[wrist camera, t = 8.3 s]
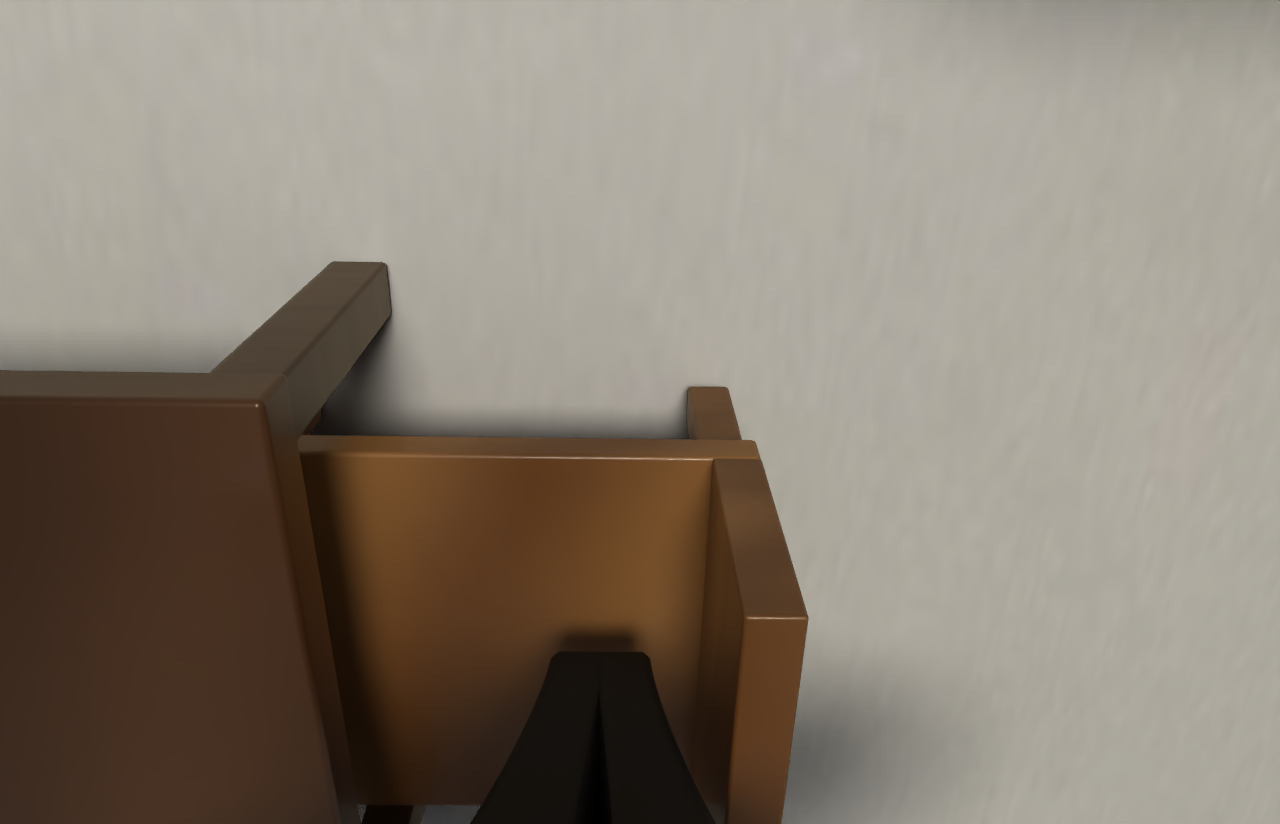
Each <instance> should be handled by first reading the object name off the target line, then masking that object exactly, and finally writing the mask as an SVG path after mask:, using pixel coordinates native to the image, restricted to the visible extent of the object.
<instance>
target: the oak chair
mask: <svg viewBox="0 0 1280 824" xmlns="http://www.w3.org/2000/svg"><path fill="white" fill-rule="evenodd" d="M320 419H321V410H320V411H319V412H318V413H317V415H316V416H315V418H314V419H313V420H312V422H311V423H310V424H309V426H308V427H307V428H306V430H305V431H304V433H303V434H302V435H301V437H300V438H299V439H298V441H297V442H298V448H299V454H300V460H301V466H302V472H303V478H304V484H305V490H306V496H307V502H308V508H309V514H310V520H311V526H312V532H313V538H314V544H315V550H316V556H317V562H318V568H319V574H320V580H321V586H322V592H323V598H324V604H325V610H326V616H327V622H328V628H329V634H330V640H331V646H332V652H333V658H334V664H335V670H336V676H337V682H338V688H339V694H340V700H341V706H342V712H343V718H344V724H345V730H346V736H347V742H348V748H349V754H350V760H351V766H352V772H353V778H354V784H355V790H356V796H357V802H358V805H482V803H483V802H484V800H485V798H486V797H487V795H488V793H489V792H490V790H491V788H492V786H493V785H494V783H495V781H496V780H497V778H498V776H499V775H500V773H501V771H502V769H503V768H504V766H505V764H506V762H507V760H508V758H509V756H510V754H511V752H512V750H513V748H514V746H515V744H516V742H517V740H518V738H519V736H520V735H521V733H522V731H523V729H524V727H525V725H526V723H527V720H528V718H529V716H530V714H531V711H532V709H533V707H534V705H535V702H536V700H537V698H538V695H539V693H540V690H541V688H542V685H543V682H544V680H545V677H546V674H547V671H548V667H549V664H550V660H551V657H553V656H554V655H555V654H556V653H558V652H559V651H568V652H644V653H645V654H646V655H647V656H648V657H649V658H650V660H651V667H652V672H653V676H654V680H655V684H656V687H657V691H658V694H659V697H660V700H661V703H662V706H663V709H664V712H665V714H666V717H667V720H668V723H669V725H670V728H671V730H672V733H673V735H674V738H675V740H676V743H677V745H678V747H679V749H680V752H681V754H682V756H683V758H684V761H685V763H686V765H687V767H688V770H689V772H690V774H691V776H692V778H693V780H694V782H695V784H696V786H697V788H698V790H699V792H700V794H701V796H702V798H703V800H704V802H705V804H706V806H707V808H708V810H709V812H710V813H711V815H712V817H713V819H714V821H715V823H716V824H781V823H782V816H783V808H784V800H785V793H786V785H787V778H788V770H789V762H790V755H791V747H792V739H793V732H794V724H795V717H796V709H797V701H798V694H799V686H800V679H801V671H802V663H803V656H804V648H805V640H806V633H807V625H808V615H807V611H806V608H805V605H804V601H803V598H802V595H801V591H800V588H799V584H798V581H797V578H796V574H795V571H794V568H793V564H792V561H791V558H790V554H789V551H788V548H787V544H786V541H785V537H784V534H783V531H782V527H781V524H780V521H779V517H778V514H777V511H776V507H775V504H774V501H773V497H772V494H771V490H770V487H769V484H768V480H767V477H766V474H765V470H764V467H763V464H762V461H761V459H760V455H759V452H758V449H757V445H756V443H755V441H752V440H742V438H741V435H740V431H739V427H738V423H737V420H736V416H735V412H734V408H733V405H732V401H731V397H730V393H729V390H728V388H726V387H690V388H689V390H688V402H687V426H688V433H689V439H607V438H519V437H431V436H344V435H309V434H310V433H311V431H312V430H313V428H314V427H315V426H316V424H317V423H318V421H319V420H320Z"/></svg>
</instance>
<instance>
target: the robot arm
mask: <svg viewBox="0 0 1280 824" xmlns="http://www.w3.org/2000/svg"><path fill="white" fill-rule="evenodd" d="M470 824H716V823H715V821H714V819H713V817H712V815H711V813H710V812H709V810H708V808H707V806H706V804H705V802H704V800H703V798H702V796H701V794H700V792H699V790H698V788H697V786H696V784H695V782H694V780H693V778H692V776H691V774H690V772H689V770H688V767H687V765H686V763H685V761H684V758H683V756H682V754H681V752H680V749H679V747H678V745H677V743H676V740H675V738H674V735H673V733H672V730H671V728H670V725H669V723H668V720H667V717H666V714H665V712H664V709H663V706H662V703H661V700H660V697H659V694H658V691H657V687H656V684H655V680H654V676H653V672H652V667H651V660H650V658H649V657H648V656H647V655H646V654H645V653H644V652H568V651H559V652H558V653H556V654H555V655H554V656H553V657H551V660H550V664H549V667H548V671H547V674H546V677H545V680H544V682H543V685H542V688H541V690H540V693H539V695H538V698H537V700H536V702H535V705H534V707H533V709H532V711H531V714H530V716H529V718H528V720H527V723H526V725H525V727H524V729H523V731H522V733H521V735H520V736H519V738H518V740H517V742H516V744H515V746H514V748H513V750H512V752H511V754H510V756H509V758H508V760H507V762H506V764H505V766H504V768H503V769H502V771H501V773H500V775H499V776H498V778H497V780H496V781H495V783H494V785H493V786H492V788H491V790H490V792H489V793H488V795H487V797H486V798H485V800H484V802H483V803H482V805H481V807H480V808H479V810H478V812H477V813H476V815H475V817H474V818H473V820H472V821H471V823H470Z"/></svg>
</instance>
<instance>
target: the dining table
mask: <svg viewBox="0 0 1280 824" xmlns="http://www.w3.org/2000/svg"><path fill="white" fill-rule="evenodd" d="M390 314H391V305H390V296H389V286H388V277H387V268H386V265H385V263H382V262H331V263H330V264H329V265H328V266H327V267H326V268H324V269H323V270H322V271H321V272H320V273H319V274H318V275H317V276H316V277H315V278H313V279H312V280H311V281H310V282H309V283H308V284H307V285H306V286H305V287H304V288H302V289H301V290H300V291H299V292H298V293H297V294H296V295H295V296H294V297H293V298H291V299H290V300H289V301H288V302H287V303H286V304H285V305H284V306H283V307H281V308H280V309H279V310H278V311H277V312H276V313H275V314H274V315H273V316H272V317H270V318H269V319H268V320H267V321H266V322H265V323H264V324H263V325H262V326H261V327H259V328H258V329H257V330H256V331H255V332H254V333H253V334H252V335H251V336H250V337H248V338H247V339H246V340H245V341H244V342H243V343H242V344H241V345H240V346H238V347H237V348H236V349H235V350H234V351H233V352H232V353H231V354H230V355H229V356H227V357H226V358H225V359H224V360H223V361H222V362H221V363H220V364H219V365H218V366H216V367H215V368H214V369H213V370H212V371H211V372H210V373H160V372H84V371H7V370H0V824H421V821H422V817H423V813H424V809H425V805H367V806H366V809H365V813H364V816H363V819H362V822H361V820H360V814H359V808H358V802H357V796H356V790H355V784H354V778H353V772H352V766H351V760H350V754H349V748H348V742H347V736H346V730H345V724H344V718H343V712H342V706H341V700H340V694H339V688H338V682H337V676H336V670H335V664H334V658H333V652H332V646H331V640H330V634H329V628H328V622H327V616H326V610H325V604H324V598H323V592H322V586H321V580H320V574H319V568H318V562H317V556H316V550H315V544H314V538H313V532H312V526H311V520H310V514H309V508H308V502H307V496H306V490H305V484H304V478H303V472H302V466H301V460H300V454H299V448H298V442H297V441H298V439H299V438H300V437H301V435H302V434H303V433H304V431H305V430H306V428H307V427H308V426H309V424H310V423H311V422H312V420H313V419H314V418H315V416H316V415H317V413H318V412H319V411H320V409H321V408H322V407H323V405H324V404H325V403H326V401H327V400H328V399H329V397H330V396H331V394H332V393H333V392H334V390H335V389H336V388H337V386H338V385H339V384H340V382H341V381H342V379H343V378H344V377H345V375H346V374H347V373H348V371H349V370H350V369H351V367H352V366H353V365H354V363H355V362H356V360H357V359H358V358H359V356H360V355H361V354H362V352H363V351H364V350H365V348H366V347H367V345H368V344H369V343H370V341H371V340H372V339H373V337H374V336H375V335H376V333H377V332H378V331H379V329H380V328H381V326H382V325H383V324H384V322H385V321H386V320H387V318H388V317H389V316H390Z"/></svg>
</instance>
